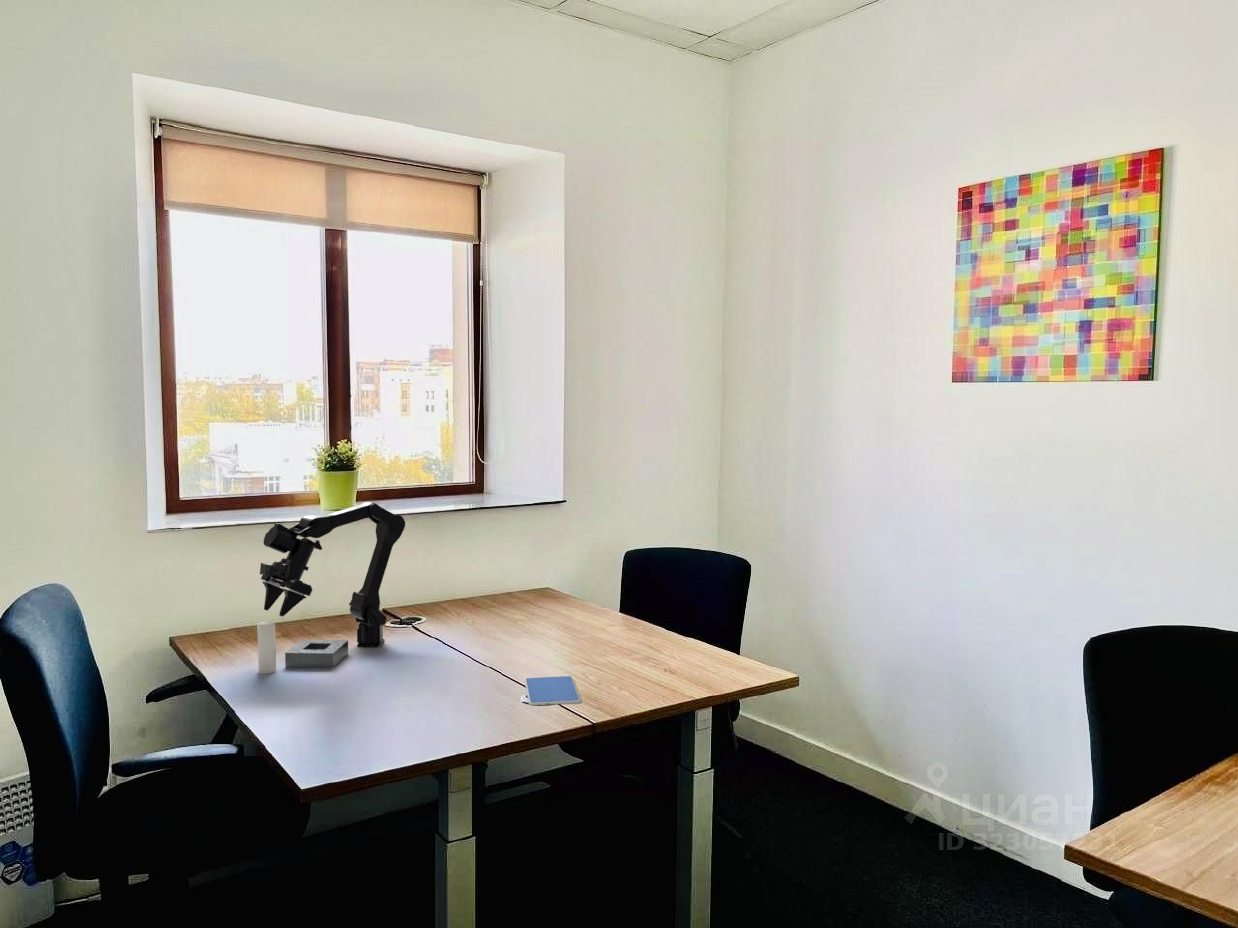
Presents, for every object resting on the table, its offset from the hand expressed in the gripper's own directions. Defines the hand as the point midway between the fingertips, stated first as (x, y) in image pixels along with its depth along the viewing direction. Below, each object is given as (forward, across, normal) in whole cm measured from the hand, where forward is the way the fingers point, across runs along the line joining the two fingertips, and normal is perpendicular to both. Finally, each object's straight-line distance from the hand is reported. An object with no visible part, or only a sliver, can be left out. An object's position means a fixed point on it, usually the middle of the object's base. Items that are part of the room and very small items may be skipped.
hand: (273, 612), depth 249 cm
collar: (+8, +4, +16) cm, 18 cm away
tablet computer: (-5, +70, +42) cm, 81 cm away
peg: (+14, +4, +3) cm, 15 cm away
